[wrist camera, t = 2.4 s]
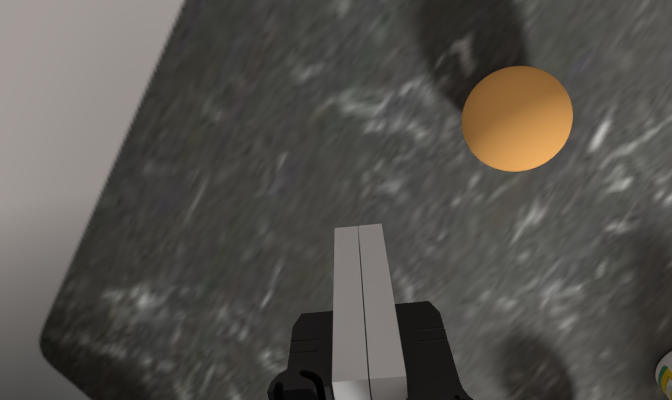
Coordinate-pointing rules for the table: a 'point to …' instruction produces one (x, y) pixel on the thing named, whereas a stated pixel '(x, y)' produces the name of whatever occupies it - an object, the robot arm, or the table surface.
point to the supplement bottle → (665, 374)
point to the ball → (517, 118)
